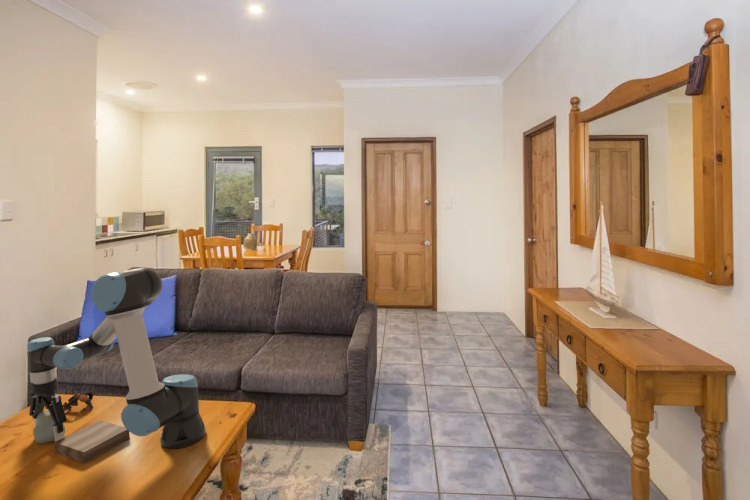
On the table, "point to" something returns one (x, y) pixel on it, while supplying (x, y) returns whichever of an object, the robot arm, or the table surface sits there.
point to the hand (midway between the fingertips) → (49, 437)
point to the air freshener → (45, 428)
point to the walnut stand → (91, 441)
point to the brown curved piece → (83, 398)
